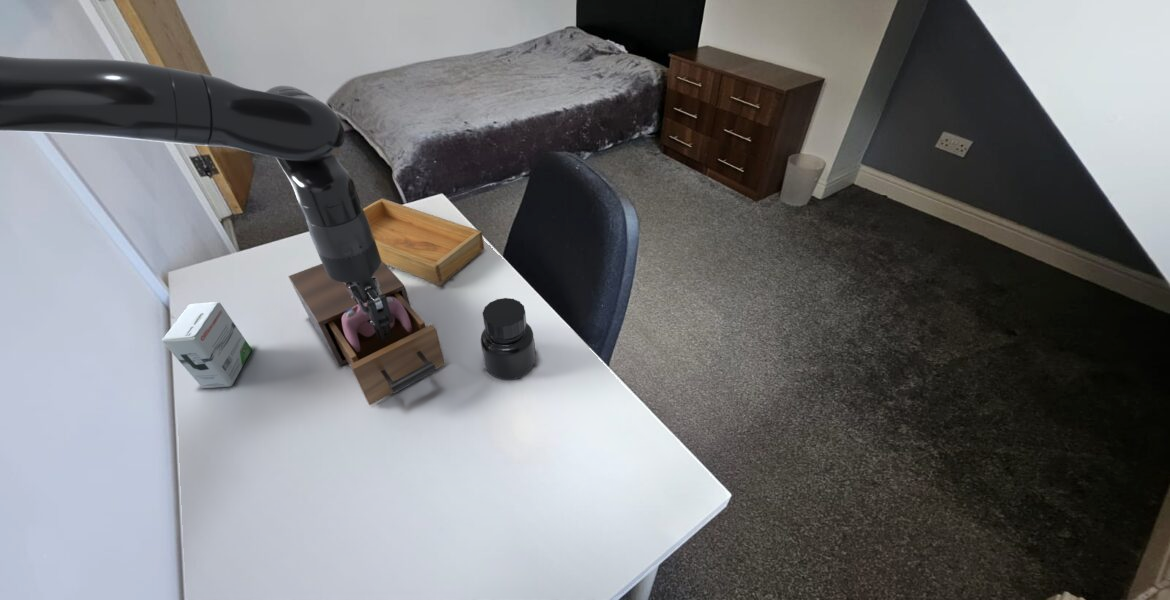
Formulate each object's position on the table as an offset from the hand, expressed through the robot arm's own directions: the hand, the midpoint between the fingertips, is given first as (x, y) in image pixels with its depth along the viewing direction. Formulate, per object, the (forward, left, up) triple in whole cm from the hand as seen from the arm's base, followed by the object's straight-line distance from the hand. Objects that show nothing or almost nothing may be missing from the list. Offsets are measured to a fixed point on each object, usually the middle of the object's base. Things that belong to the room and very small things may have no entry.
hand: (377, 326), depth 77 cm
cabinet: (0, +13, -9) cm, 15 cm away
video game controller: (0, 0, -2) cm, 2 cm away
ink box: (-22, +17, -9) cm, 29 cm away
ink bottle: (+16, -13, -9) cm, 23 cm away
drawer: (0, -2, -8) cm, 8 cm away
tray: (+18, +30, -9) cm, 36 cm away
